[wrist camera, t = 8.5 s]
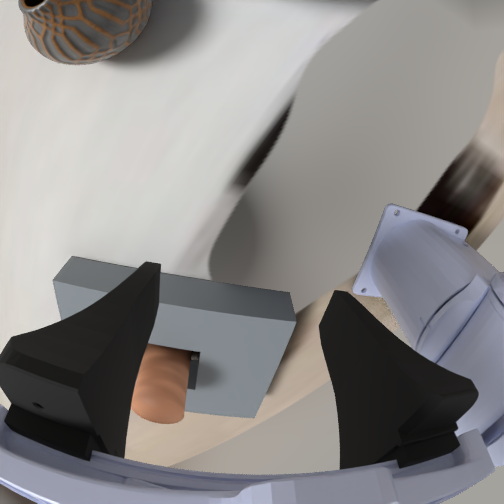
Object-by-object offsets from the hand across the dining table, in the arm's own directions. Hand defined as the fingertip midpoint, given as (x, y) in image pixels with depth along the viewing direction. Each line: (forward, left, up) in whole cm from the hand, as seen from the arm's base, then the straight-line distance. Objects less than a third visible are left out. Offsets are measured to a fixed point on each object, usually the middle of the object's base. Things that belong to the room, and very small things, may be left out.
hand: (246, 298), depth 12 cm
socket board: (+4, +13, -9) cm, 17 cm away
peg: (+4, +13, -9) cm, 16 cm away
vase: (+11, -12, -10) cm, 19 cm away
